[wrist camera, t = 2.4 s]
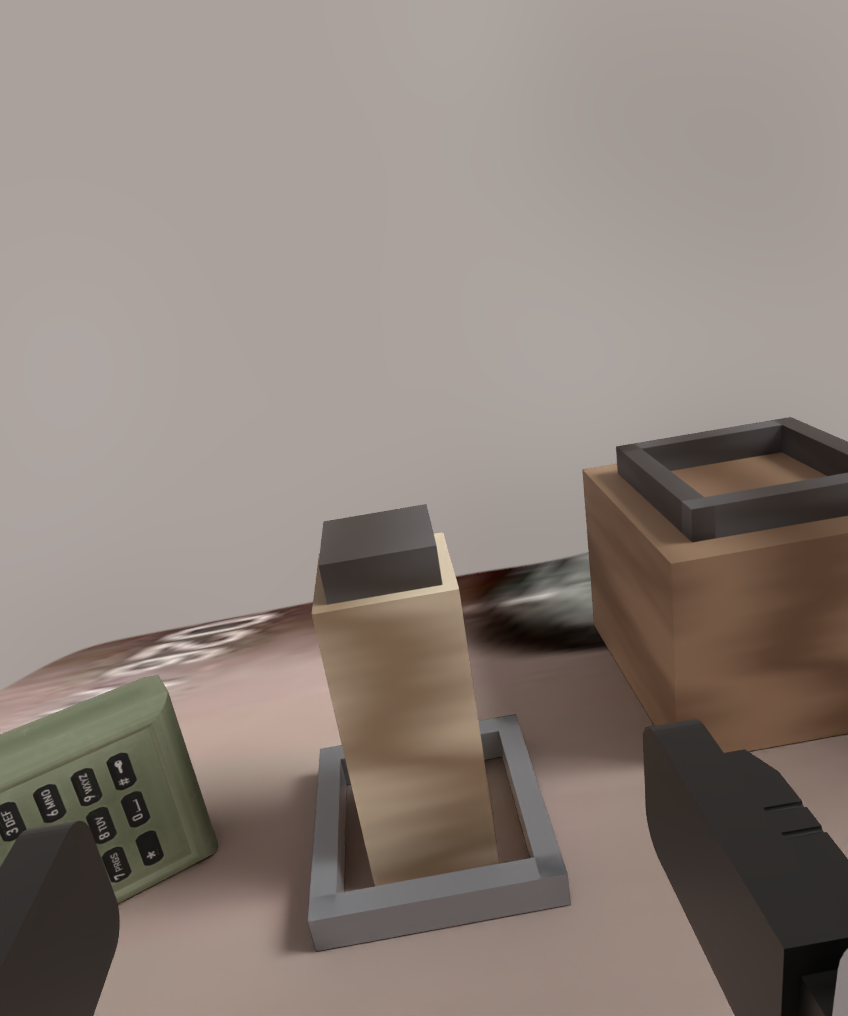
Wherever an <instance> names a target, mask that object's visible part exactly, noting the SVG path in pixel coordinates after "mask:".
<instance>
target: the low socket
mask: <svg viewBox="0 0 848 1016" xmlns="http://www.w3.org/2000/svg"><path fill="white" fill-rule="evenodd" d="M479 728H480V735H481V742H482V748H483V755H484V760H486V759H492V758H498V757H503V761H504V765H505V768H506V772H507V776H508V779H509V783H510V787H511V790H512V794H513V797H514V801H515V805H516V808H517V812H518V816H519V819H520V823H521V827H522V830H523V834H524V838H525V841H526V845H527V848H528V852H529V856H530V858H528V859H522V860H517V861H511V862H506V863H500V864H495V865H489V866H484V867H478V868H473V869H467V870H462V871H456V872H451V873H445V874H440V875H435V876H429V877H424V878H418V879H413V880H407V881H402V882H396V883H391V884H385V885H380V886H374V887H369V888H363V889H358V890H353V891H347V892H344V879H345V830H346V785H347V784H351V782H350V777H349V773H348V769H347V764H346V760H345V756H344V751H343V747H342V745H340V746H334V747H328V748H323V749H320V759H319V773H318V787H317V801H316V815H315V828H314V842H313V856H312V870H311V884H310V897H309V911H308V925H309V928H310V932H311V935H312V939H313V942H314V946H315V949H316V951H321V950H327V949H332V948H337V947H343V946H348V945H354V944H359V943H365V942H370V941H375V940H381V939H386V938H392V937H397V936H402V935H408V934H413V933H419V932H424V931H430V930H435V929H440V928H446V927H451V926H457V925H462V924H467V923H473V922H478V921H484V920H489V919H494V918H500V917H505V916H511V915H516V914H522V913H527V912H532V911H538V910H543V909H549V908H554V907H559V906H565V905H570V904H571V901H570V892H569V882H568V874H567V871H566V867H565V864H564V861H563V858H562V855H561V852H560V849H559V846H558V843H557V840H556V837H555V834H554V831H553V828H552V825H551V822H550V818H549V815H548V812H547V809H546V806H545V803H544V800H543V797H542V794H541V791H540V788H539V785H538V782H537V779H536V776H535V772H534V769H533V766H532V763H531V760H530V757H529V754H528V751H527V748H526V745H525V742H524V739H523V736H522V733H521V730H520V726H519V723H518V720H517V717H516V714H514V715H508V716H503V717H497V718H492V719H486V720H480V721H479Z"/></svg>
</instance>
